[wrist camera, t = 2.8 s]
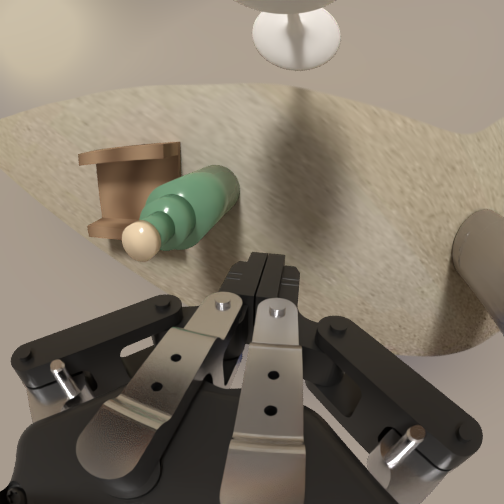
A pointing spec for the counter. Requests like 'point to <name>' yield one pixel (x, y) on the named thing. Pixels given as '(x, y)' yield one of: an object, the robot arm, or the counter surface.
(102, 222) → the brown wooden u-shaped block
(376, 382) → the robot arm
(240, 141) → the counter surface
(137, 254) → the bottle
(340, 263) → the counter surface
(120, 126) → the counter surface
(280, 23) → the wineglass
